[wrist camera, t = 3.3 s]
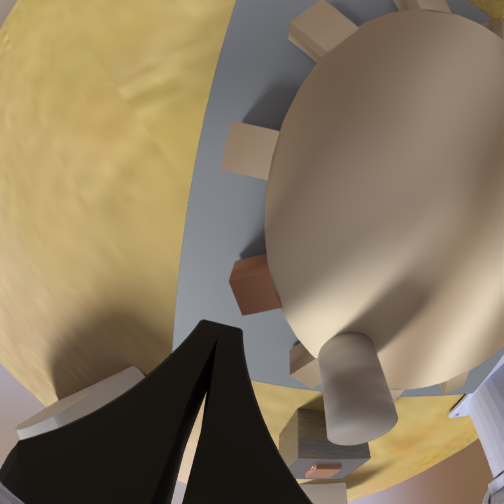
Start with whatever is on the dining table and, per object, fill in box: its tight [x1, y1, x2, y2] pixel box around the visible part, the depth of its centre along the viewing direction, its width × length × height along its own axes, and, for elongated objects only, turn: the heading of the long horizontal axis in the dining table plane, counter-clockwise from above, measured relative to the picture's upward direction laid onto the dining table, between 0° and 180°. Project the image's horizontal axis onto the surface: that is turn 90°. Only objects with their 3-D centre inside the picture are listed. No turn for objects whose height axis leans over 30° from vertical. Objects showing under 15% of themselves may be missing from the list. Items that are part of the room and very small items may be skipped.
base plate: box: [172, 0, 504, 397], centre depth 9 cm, size 21×21×2 cm
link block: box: [279, 409, 371, 479], centre depth 15 cm, size 5×4×4 cm
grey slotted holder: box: [16, 366, 145, 440], centre depth 15 cm, size 17×5×10 cm, turn 127°
